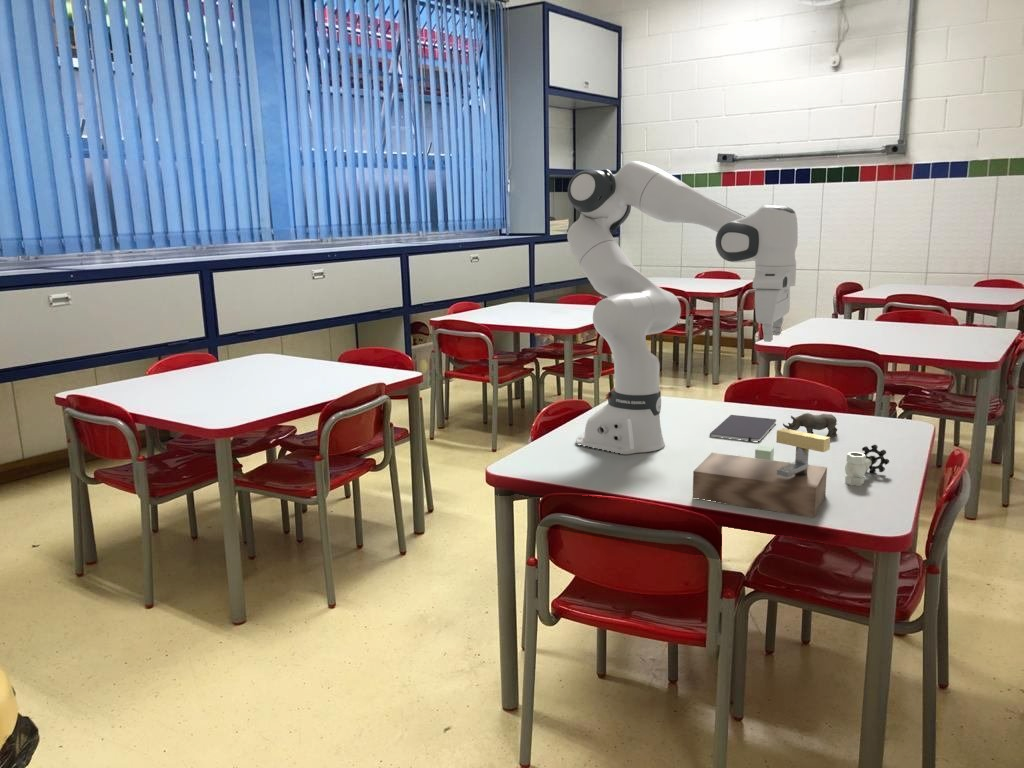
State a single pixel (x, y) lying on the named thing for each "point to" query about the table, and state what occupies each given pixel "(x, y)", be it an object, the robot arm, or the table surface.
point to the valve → (863, 465)
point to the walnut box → (759, 484)
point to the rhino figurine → (814, 423)
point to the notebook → (743, 428)
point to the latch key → (800, 449)
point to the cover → (764, 453)
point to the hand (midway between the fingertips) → (772, 338)
